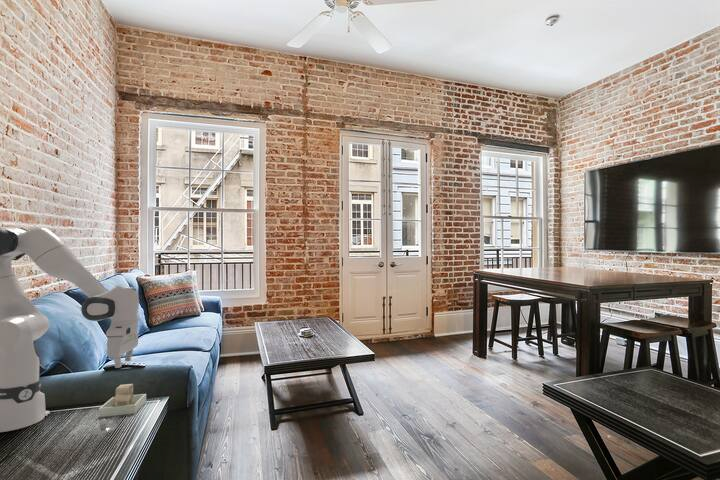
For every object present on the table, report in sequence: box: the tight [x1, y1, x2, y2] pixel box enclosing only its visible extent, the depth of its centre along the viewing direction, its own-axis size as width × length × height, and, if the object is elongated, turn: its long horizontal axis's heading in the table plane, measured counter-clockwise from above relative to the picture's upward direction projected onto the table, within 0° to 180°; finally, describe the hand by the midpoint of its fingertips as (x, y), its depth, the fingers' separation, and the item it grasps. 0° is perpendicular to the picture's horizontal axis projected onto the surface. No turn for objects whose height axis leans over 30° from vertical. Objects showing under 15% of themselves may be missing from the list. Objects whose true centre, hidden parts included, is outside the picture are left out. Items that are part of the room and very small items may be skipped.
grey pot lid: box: [88, 418, 119, 436], centre depth 123 cm, size 8×8×4 cm
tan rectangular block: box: [114, 383, 134, 406], centre depth 140 cm, size 4×4×9 cm
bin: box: [98, 393, 147, 418], centre depth 140 cm, size 12×12×4 cm
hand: (123, 364), depth 141 cm, fingers open, 8 cm apart
